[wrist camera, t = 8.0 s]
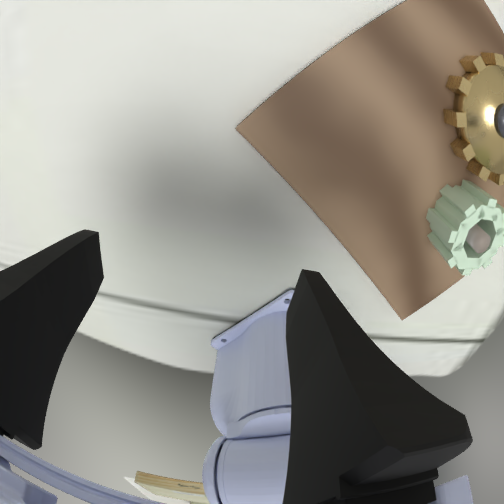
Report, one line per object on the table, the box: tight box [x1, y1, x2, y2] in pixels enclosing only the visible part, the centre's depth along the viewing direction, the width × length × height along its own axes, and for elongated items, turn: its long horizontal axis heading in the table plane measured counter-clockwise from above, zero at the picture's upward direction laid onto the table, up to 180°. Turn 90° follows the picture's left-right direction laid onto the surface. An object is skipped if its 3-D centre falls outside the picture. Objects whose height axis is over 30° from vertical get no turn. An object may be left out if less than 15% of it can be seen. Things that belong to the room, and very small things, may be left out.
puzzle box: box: [135, 471, 210, 504], centre depth 68 cm, size 36×5×24 cm
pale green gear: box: [426, 180, 504, 275], centre depth 16 cm, size 6×6×3 cm
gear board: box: [235, 0, 504, 320], centre depth 14 cm, size 20×20×5 cm
